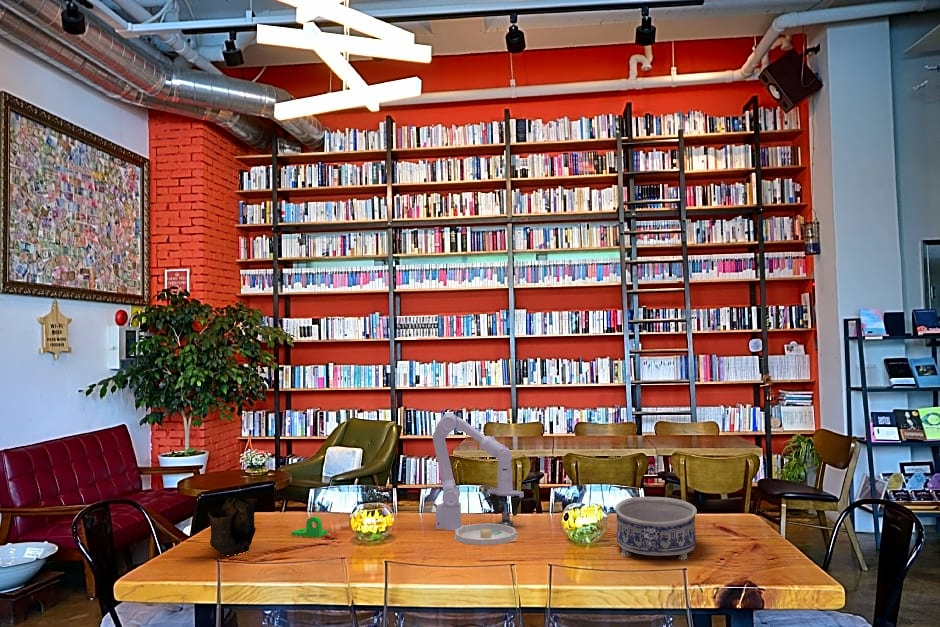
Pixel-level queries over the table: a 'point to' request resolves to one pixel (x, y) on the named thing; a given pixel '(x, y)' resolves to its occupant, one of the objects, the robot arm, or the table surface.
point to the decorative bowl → (656, 526)
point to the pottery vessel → (233, 525)
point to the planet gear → (506, 519)
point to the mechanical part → (311, 528)
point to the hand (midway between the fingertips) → (506, 514)
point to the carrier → (485, 534)
